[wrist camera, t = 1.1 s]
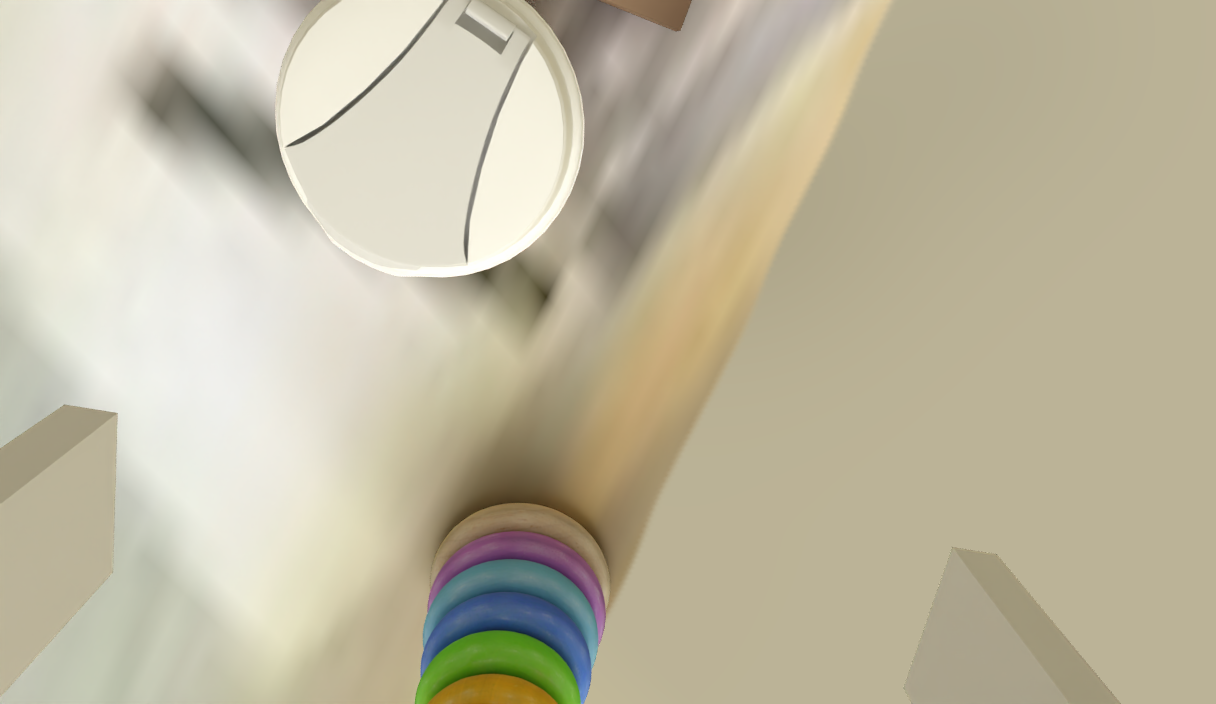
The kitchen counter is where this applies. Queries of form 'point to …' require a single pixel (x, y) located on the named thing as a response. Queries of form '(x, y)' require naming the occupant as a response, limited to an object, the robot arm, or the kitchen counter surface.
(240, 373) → the kitchen counter surface
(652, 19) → the assembly base
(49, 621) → the robot arm
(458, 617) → the stacking toy
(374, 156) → the paper cup
